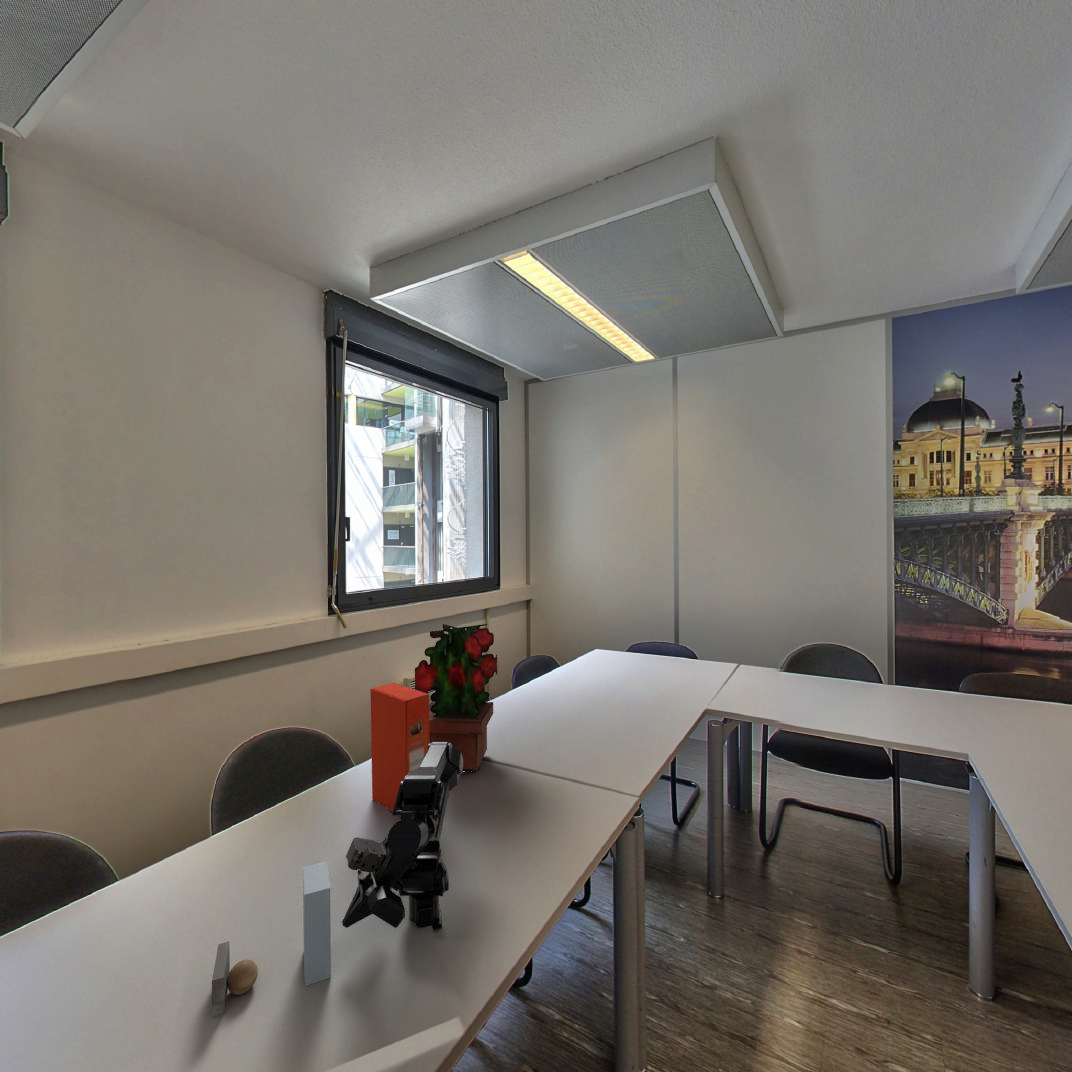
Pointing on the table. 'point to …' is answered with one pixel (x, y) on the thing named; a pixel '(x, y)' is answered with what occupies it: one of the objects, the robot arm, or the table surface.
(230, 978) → the walnut
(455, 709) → the potted plant
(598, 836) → the table surface
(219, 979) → the press bed
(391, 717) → the file binder
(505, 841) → the table surface
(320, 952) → the block
